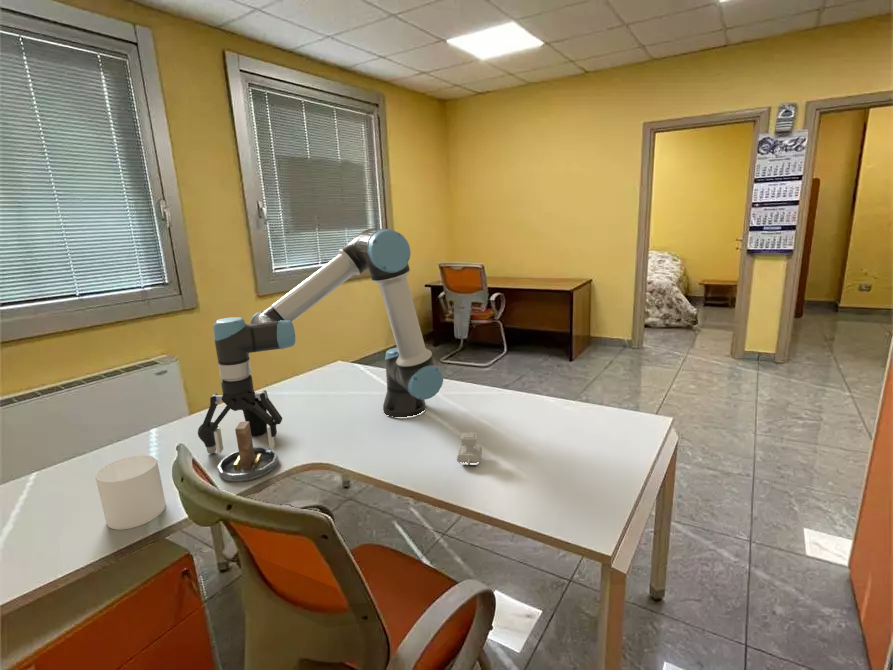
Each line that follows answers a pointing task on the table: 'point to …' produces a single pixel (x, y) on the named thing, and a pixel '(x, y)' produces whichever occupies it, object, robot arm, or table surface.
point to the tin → (261, 467)
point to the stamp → (469, 449)
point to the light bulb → (207, 439)
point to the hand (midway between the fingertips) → (246, 449)
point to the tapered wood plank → (245, 445)
